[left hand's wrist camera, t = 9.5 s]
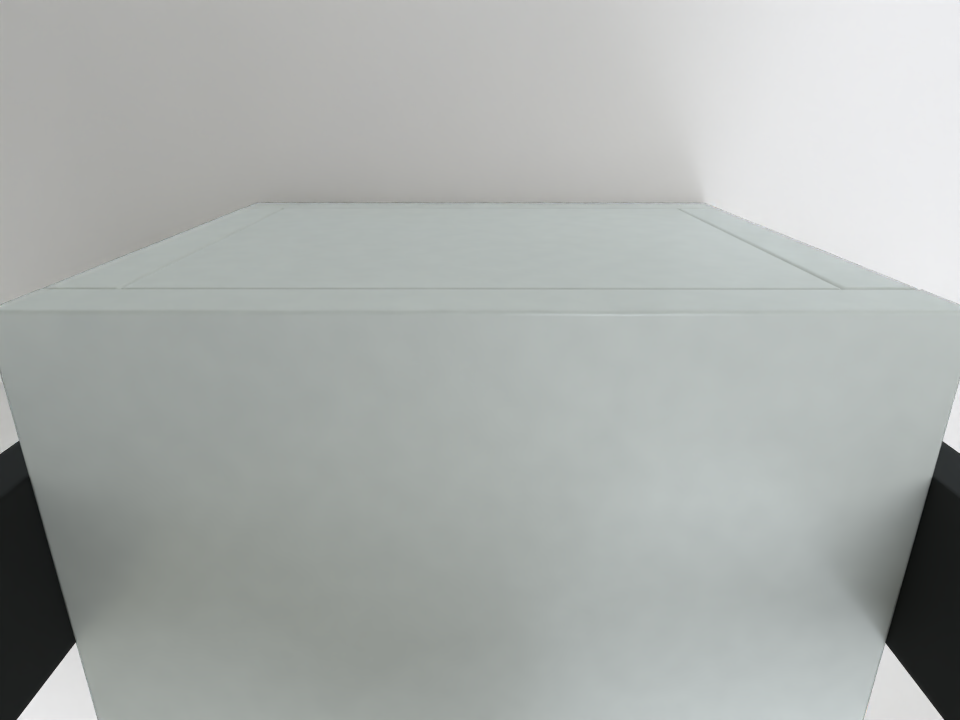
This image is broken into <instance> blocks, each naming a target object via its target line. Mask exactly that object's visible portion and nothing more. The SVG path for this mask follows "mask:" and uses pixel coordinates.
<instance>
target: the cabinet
mask: <svg viewBox="0 0 960 720" xmlns="http://www.w3.org/2000/svg"><path fill="white" fill-rule="evenodd" d="M0 373H1V377H2V381H3V384H4V388H5V391H6V395H7V398H8V402H9V406H10V409H11V413H12V416H13V420H14V423H15V427H16V430H17V434H18V438H19V441H20V445H21V448H22V452H23V455H24V459H25V463H26V466H27V470H28V473H29V477H30V480H31V484H32V487H33V491H34V495H35V498H36V502H37V505H38V509H39V512H40V516H41V519H42V523H43V527H44V530H45V534H46V537H47V541H48V544H49V548H50V552H51V555H52V559H53V562H54V566H55V569H56V573H57V576H58V580H59V584H60V587H61V591H62V594H63V598H64V601H65V605H66V608H67V612H68V616H69V619H70V623H71V626H72V630H73V633H74V637H75V641H76V644H77V648H78V651H79V655H80V658H81V662H82V665H83V669H84V673H85V676H86V680H87V683H88V687H89V690H90V694H91V697H92V701H93V705H94V708H95V712H96V715H97V719H98V720H864V716H865V713H866V709H867V706H868V702H869V699H870V695H871V692H872V688H873V684H874V681H875V677H876V674H877V670H878V667H879V663H880V660H881V656H882V653H883V649H884V646H885V642H886V639H887V635H888V631H889V628H890V624H891V621H892V617H893V614H894V610H895V607H896V603H897V600H898V596H899V593H900V589H901V585H902V582H903V578H904V575H905V571H906V568H907V564H908V561H909V557H910V554H911V550H912V547H913V543H914V539H915V536H916V532H917V529H918V525H919V522H920V518H921V515H922V511H923V508H924V504H925V501H926V497H927V494H928V490H929V486H930V483H931V479H932V476H933V472H934V469H935V465H936V462H937V458H938V455H939V451H940V448H941V444H942V440H943V437H944V433H945V430H946V426H947V423H948V419H949V416H950V412H951V409H952V405H953V402H954V398H955V394H956V391H957V387H958V384H959V380H960V305H959V304H957V303H954V302H952V301H949V300H947V299H944V298H942V297H939V296H937V295H934V294H932V293H929V292H927V291H924V290H918V289H917V288H914V287H912V286H910V285H907V284H905V283H902V282H900V281H897V280H895V279H892V278H890V277H887V276H885V275H882V274H880V273H877V272H875V271H872V270H870V269H867V268H865V267H862V266H860V265H857V264H855V263H852V262H850V261H847V260H845V259H842V258H840V257H838V256H835V255H833V254H830V253H828V252H825V251H823V250H820V249H818V248H815V247H813V246H810V245H808V244H805V243H803V242H800V241H798V240H795V239H793V238H790V237H788V236H785V235H783V234H780V233H778V232H775V231H773V230H770V229H768V228H766V227H763V226H761V225H758V224H756V223H753V222H751V221H748V220H746V219H743V218H741V217H738V216H736V215H733V214H731V213H728V212H726V211H723V210H721V209H718V208H716V207H713V206H711V205H708V204H706V203H255V204H253V205H250V206H248V207H245V208H242V209H239V210H237V211H234V212H232V213H229V214H227V215H224V216H222V217H219V218H217V219H214V220H212V221H209V222H207V223H204V224H202V225H199V226H197V227H194V228H192V229H189V230H187V231H184V232H182V233H179V234H177V235H174V236H172V237H169V238H167V239H164V240H162V241H159V242H157V243H154V244H152V245H149V246H147V247H144V248H142V249H139V250H137V251H134V252H132V253H129V254H127V255H124V256H122V257H119V258H117V259H114V260H112V261H109V262H107V263H104V264H102V265H99V266H97V267H94V268H92V269H89V270H87V271H84V272H82V273H79V274H77V275H74V276H72V277H69V278H67V279H64V280H62V281H59V282H57V283H54V284H52V285H49V286H47V287H45V288H43V289H39V290H36V291H34V292H31V293H29V294H26V295H23V296H21V297H18V298H16V299H13V300H11V301H8V302H6V303H3V304H1V305H0Z"/></svg>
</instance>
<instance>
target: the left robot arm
mask: <svg viewBox="0 0 960 720" xmlns="http://www.w3.org/2000/svg"><path fill="white" fill-rule="evenodd" d="M75 643H76V641H75V637H74V633H73V630H72V626H71V623H70V619H69V616H68V612H67V608H66V605H65V601H64V598H63V594H62V591H61V587H60V584H59V580H58V576H57V573H56V569H55V566H54V562H53V559H52V555H51V552H50V548H49V544H48V541H47V537H46V534H45V530H44V527H43V523H42V519H41V516H40V512H39V509H38V505H37V502H36V498H35V495H34V491H33V487H32V484H31V480H30V477H29V473H28V470H27V466H26V463H25V459H24V455H23V452H22V448H21V445H20V441H18V442H17V443H15V444H14V445H12V446H11V447H10V448H8V449H7V450H5V451H4V452H3V453H1V454H0V720H17V718H18V717H19V716H20V715H21V713H22V712H23V711H24V709H25V708H26V707H27V705H28V704H29V703H30V701H31V700H32V699H33V698H34V696H35V695H36V694H37V692H38V691H39V690H40V688H41V687H42V686H43V684H44V683H45V682H46V680H47V679H48V678H49V677H50V675H51V674H52V673H53V671H54V670H55V669H56V667H57V666H58V665H59V663H60V662H61V661H62V660H63V658H64V657H65V656H66V654H67V653H68V652H69V650H70V649H71V648H72V646H73V645H74V644H75ZM885 643H886V644H887V645H888V647H889V648H890V649H891V651H892V652H893V653H894V655H895V656H896V657H897V659H898V660H899V661H900V662H901V664H902V665H903V666H904V668H905V669H906V670H907V672H908V673H909V674H910V676H911V677H912V678H913V679H914V681H915V682H916V683H917V685H918V686H919V687H920V689H921V690H922V691H923V693H924V694H925V695H926V696H927V698H928V699H929V700H930V702H931V703H932V704H933V706H934V707H935V708H936V710H937V711H938V712H939V714H940V715H941V716H942V717H943V719H944V720H960V453H958V452H957V451H955V450H954V449H953V448H951V447H950V446H948V445H947V444H946V443H944V442H943V441H942V444H941V448H940V451H939V455H938V458H937V462H936V465H935V469H934V472H933V476H932V479H931V483H930V486H929V490H928V494H927V497H926V501H925V504H924V508H923V511H922V515H921V518H920V522H919V525H918V529H917V532H916V536H915V539H914V543H913V547H912V550H911V554H910V557H909V561H908V564H907V568H906V571H905V575H904V578H903V582H902V585H901V589H900V593H899V596H898V600H897V603H896V607H895V610H894V614H893V617H892V621H891V624H890V628H889V631H888V635H887V639H886V642H885Z"/></svg>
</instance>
